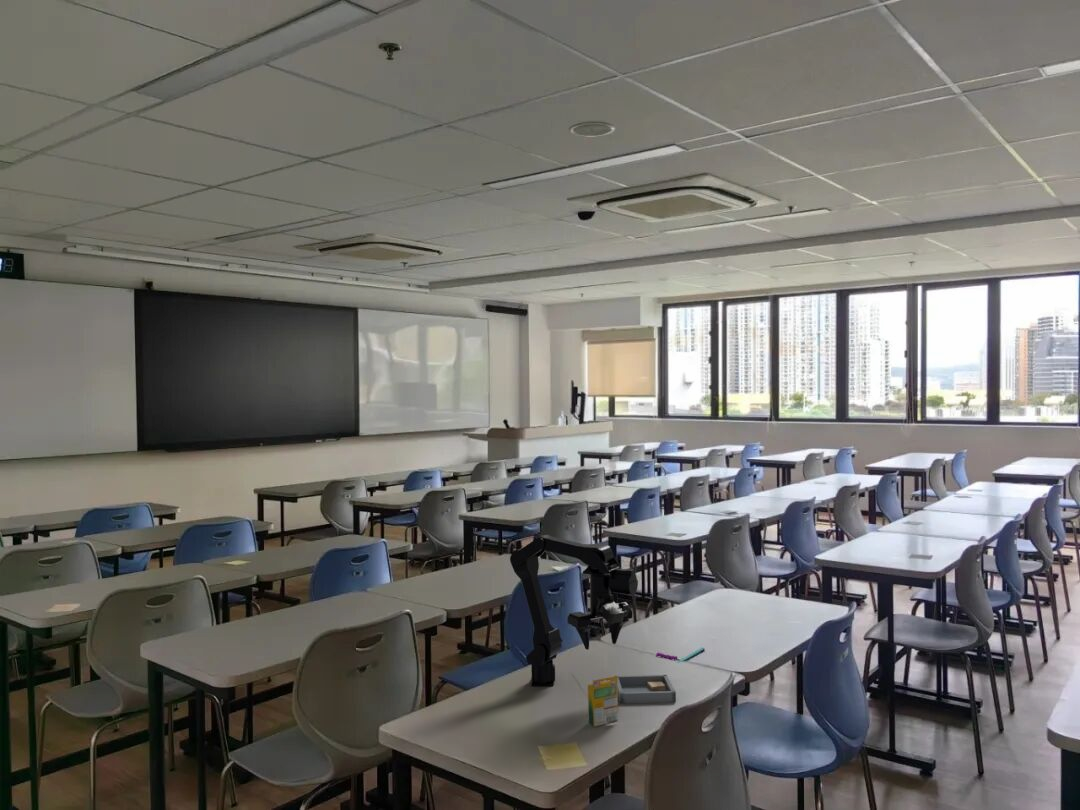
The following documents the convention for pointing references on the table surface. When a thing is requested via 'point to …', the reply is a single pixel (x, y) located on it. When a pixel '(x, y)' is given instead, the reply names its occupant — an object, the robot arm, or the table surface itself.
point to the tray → (644, 689)
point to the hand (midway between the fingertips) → (600, 646)
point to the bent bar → (681, 658)
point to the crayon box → (603, 701)
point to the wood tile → (656, 685)
